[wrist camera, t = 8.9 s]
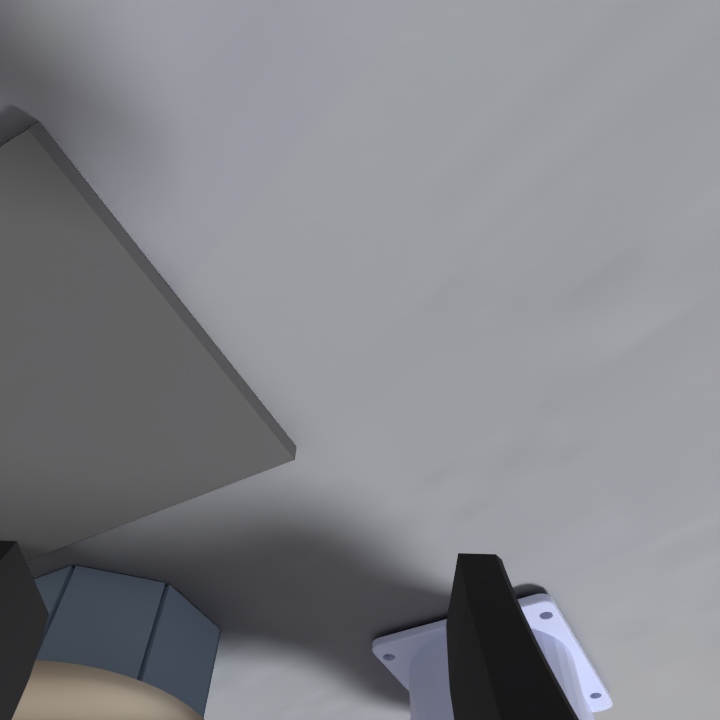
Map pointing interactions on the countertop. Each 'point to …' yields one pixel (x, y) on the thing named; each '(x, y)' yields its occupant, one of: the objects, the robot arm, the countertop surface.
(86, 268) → the mat
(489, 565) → the robot arm
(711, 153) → the countertop surface
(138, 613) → the bowl
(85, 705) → the lid
